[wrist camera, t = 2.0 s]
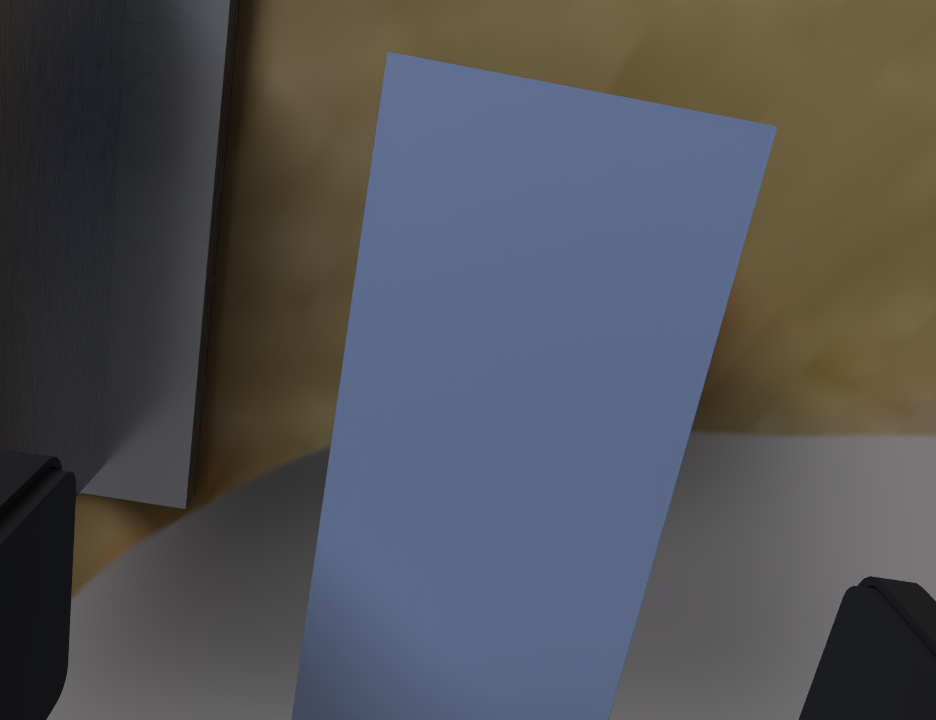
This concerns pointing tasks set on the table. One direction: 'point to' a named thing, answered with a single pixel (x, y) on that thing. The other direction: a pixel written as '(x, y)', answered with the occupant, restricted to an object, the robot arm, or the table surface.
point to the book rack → (111, 234)
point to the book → (515, 391)
